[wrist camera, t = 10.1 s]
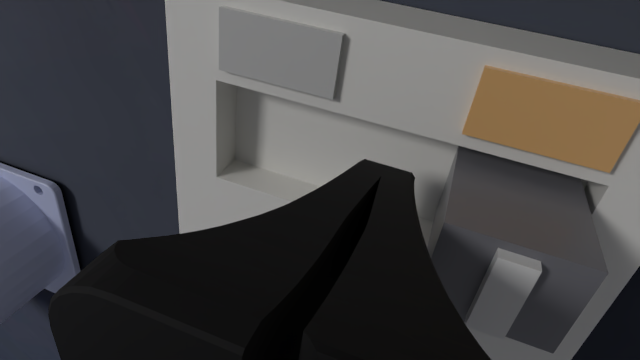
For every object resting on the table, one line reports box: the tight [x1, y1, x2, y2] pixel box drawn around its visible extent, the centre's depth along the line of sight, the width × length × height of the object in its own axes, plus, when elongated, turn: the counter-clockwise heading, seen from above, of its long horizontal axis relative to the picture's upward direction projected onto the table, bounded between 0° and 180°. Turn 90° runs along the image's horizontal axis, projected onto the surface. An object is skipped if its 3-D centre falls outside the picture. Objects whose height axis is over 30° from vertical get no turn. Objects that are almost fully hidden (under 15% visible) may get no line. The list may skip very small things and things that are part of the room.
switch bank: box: [165, 0, 640, 360], centre depth 15 cm, size 13×15×3 cm
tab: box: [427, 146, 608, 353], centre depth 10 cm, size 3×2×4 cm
